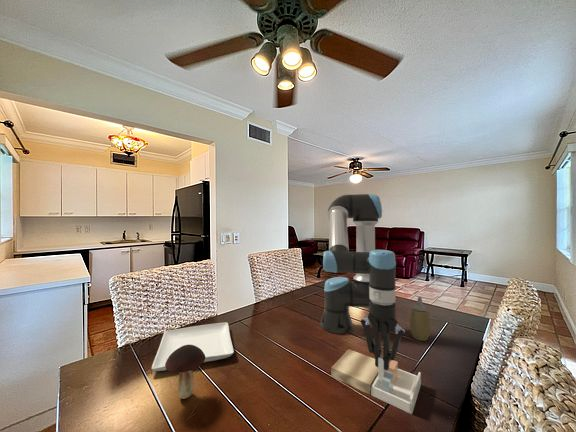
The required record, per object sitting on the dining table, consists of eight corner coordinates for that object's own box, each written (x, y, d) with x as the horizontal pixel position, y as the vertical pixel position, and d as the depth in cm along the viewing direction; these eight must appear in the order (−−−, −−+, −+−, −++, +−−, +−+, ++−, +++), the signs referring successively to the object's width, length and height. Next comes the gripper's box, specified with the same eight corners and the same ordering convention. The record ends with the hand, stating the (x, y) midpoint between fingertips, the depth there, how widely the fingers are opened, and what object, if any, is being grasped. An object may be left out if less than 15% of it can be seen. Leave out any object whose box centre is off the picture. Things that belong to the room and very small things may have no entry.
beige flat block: (331, 376, 78) (331, 367, 78) (348, 356, 89) (348, 349, 89) (370, 394, 70) (370, 384, 70) (383, 370, 81) (383, 362, 81)
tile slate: (382, 379, 69) (389, 382, 67) (387, 370, 73) (393, 373, 71) (381, 396, 69) (388, 399, 68) (386, 386, 73) (393, 389, 71)
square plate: (164, 338, 103) (164, 330, 103) (227, 329, 112) (227, 321, 112) (150, 378, 77) (150, 367, 77) (234, 362, 86) (234, 351, 87)
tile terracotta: (386, 366, 75) (393, 369, 73) (391, 359, 78) (397, 361, 77) (387, 382, 74) (393, 385, 73) (391, 374, 78) (397, 377, 77)
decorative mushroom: (209, 383, 75) (209, 336, 75) (197, 411, 64) (197, 357, 64) (175, 384, 74) (175, 337, 74) (156, 413, 63) (157, 357, 64)
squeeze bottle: (433, 343, 98) (433, 301, 99) (412, 341, 100) (412, 299, 100) (426, 334, 106) (426, 294, 107) (407, 332, 108) (407, 293, 108)
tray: (371, 395, 70) (371, 381, 70) (384, 371, 81) (384, 359, 81) (412, 414, 63) (412, 399, 63) (420, 385, 74) (420, 372, 74)
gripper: (356, 299, 73) (356, 375, 72) (402, 310, 64) (402, 395, 64) (365, 293, 78) (365, 364, 78) (408, 302, 70) (408, 380, 70)
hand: (382, 378), depth 71 cm, fingers closed
